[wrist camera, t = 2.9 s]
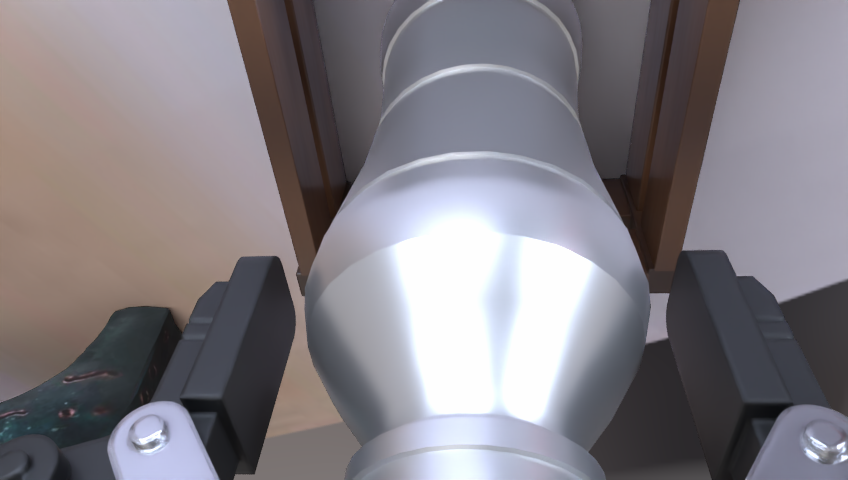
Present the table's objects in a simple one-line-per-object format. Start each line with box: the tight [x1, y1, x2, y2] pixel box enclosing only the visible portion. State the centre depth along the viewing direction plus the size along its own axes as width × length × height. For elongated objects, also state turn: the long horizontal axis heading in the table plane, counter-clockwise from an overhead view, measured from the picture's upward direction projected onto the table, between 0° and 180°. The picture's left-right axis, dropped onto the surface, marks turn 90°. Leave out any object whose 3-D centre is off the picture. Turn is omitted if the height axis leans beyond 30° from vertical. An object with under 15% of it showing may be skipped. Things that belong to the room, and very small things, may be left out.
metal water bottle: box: [305, 0, 651, 480], centre depth 16 cm, size 6×7×20 cm
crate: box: [227, 0, 740, 296], centre depth 21 cm, size 16×14×6 cm
